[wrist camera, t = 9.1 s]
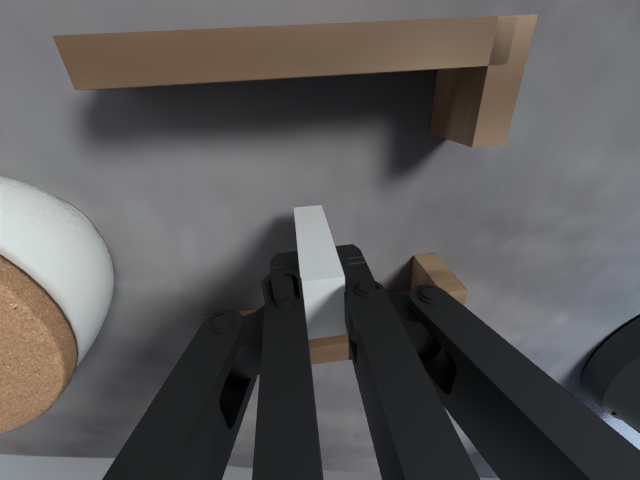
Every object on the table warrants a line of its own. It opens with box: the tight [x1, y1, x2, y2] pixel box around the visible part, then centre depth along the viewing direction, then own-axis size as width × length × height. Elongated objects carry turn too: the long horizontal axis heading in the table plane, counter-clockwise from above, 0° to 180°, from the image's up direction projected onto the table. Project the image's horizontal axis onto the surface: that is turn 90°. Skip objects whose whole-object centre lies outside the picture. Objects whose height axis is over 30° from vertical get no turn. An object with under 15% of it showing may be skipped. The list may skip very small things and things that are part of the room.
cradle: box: [53, 14, 538, 365], centre depth 15 cm, size 17×16×4 cm
